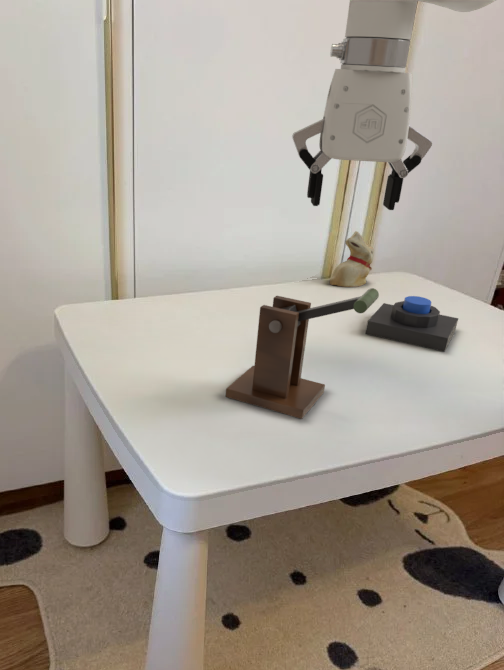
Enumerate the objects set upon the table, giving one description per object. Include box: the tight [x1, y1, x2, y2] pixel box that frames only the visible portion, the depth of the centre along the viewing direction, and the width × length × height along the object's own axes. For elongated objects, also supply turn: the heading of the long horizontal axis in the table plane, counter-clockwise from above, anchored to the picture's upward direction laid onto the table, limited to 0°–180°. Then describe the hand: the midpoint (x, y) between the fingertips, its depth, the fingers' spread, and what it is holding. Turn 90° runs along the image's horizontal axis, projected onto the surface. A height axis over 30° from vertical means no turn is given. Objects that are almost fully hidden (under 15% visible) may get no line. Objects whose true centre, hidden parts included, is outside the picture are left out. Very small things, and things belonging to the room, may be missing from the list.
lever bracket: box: [225, 295, 326, 420], centre depth 76 cm, size 10×8×12 cm
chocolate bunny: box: [329, 230, 375, 288], centre depth 119 cm, size 6×8×10 cm
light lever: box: [280, 287, 380, 327], centre depth 71 cm, size 12×5×2 cm, turn 62°
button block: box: [365, 300, 459, 353], centre depth 99 cm, size 12×10×4 cm
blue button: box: [403, 295, 432, 314], centre depth 98 cm, size 4×4×2 cm
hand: (351, 206), depth 83 cm, fingers open, 9 cm apart
